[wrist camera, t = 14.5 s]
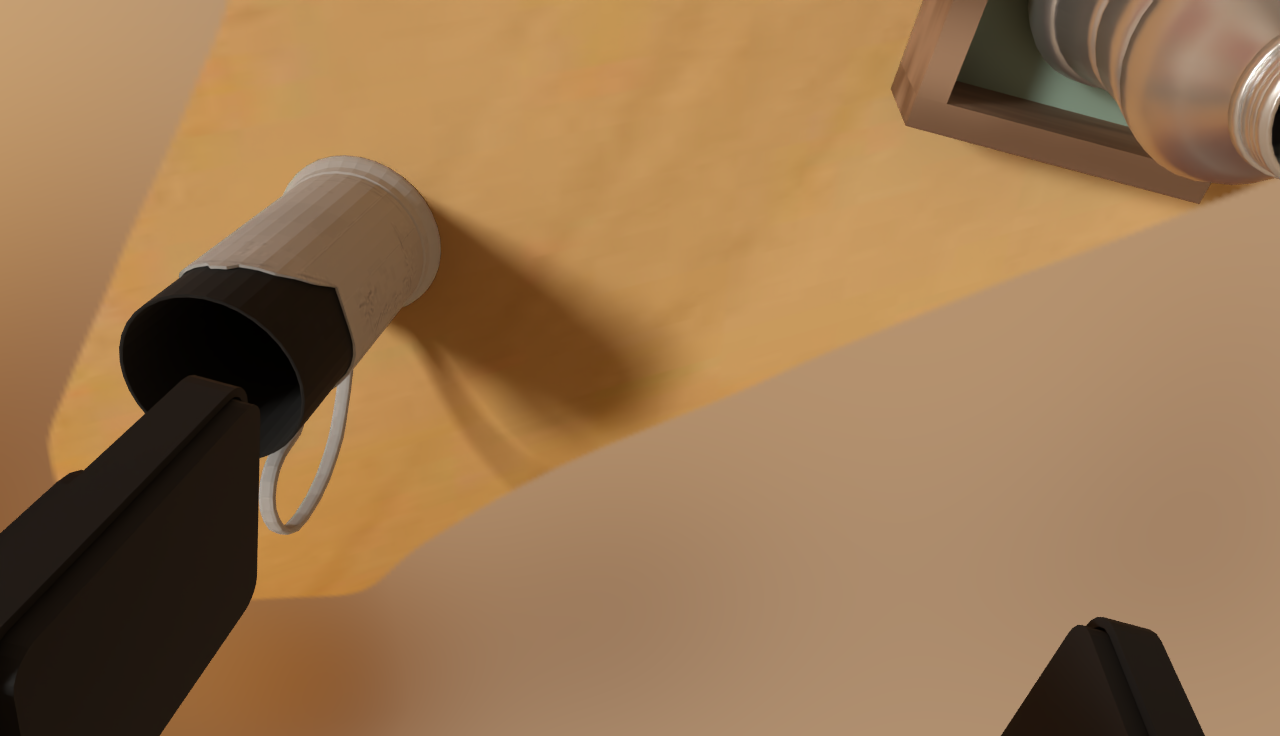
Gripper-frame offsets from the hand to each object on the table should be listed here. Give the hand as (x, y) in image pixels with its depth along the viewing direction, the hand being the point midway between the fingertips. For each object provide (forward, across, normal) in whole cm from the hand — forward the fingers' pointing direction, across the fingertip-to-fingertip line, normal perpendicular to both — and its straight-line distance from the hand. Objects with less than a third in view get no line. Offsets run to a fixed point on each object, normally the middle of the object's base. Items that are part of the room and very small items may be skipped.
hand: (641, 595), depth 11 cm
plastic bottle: (+36, -13, -5) cm, 38 cm away
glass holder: (+36, +16, +18) cm, 44 cm away
